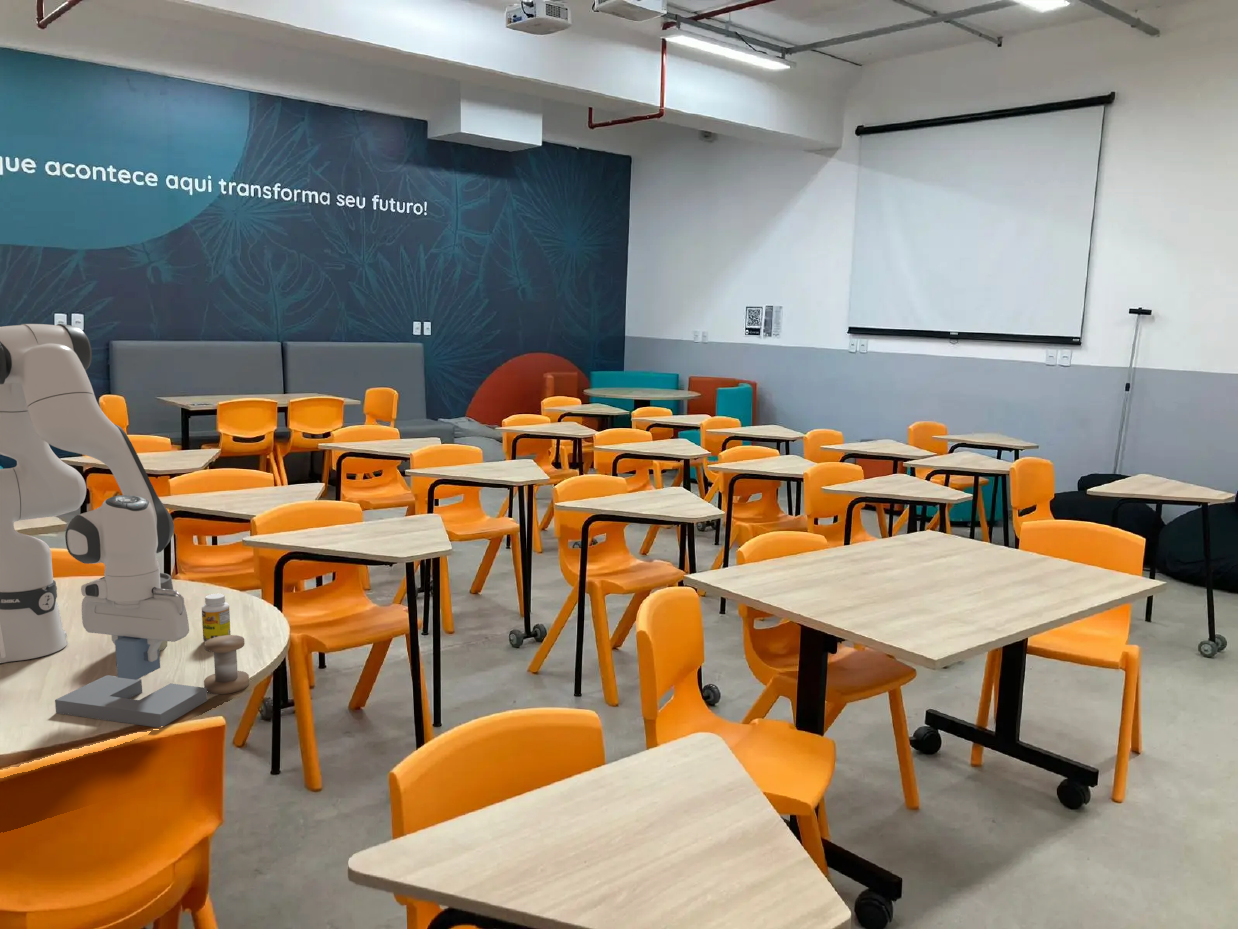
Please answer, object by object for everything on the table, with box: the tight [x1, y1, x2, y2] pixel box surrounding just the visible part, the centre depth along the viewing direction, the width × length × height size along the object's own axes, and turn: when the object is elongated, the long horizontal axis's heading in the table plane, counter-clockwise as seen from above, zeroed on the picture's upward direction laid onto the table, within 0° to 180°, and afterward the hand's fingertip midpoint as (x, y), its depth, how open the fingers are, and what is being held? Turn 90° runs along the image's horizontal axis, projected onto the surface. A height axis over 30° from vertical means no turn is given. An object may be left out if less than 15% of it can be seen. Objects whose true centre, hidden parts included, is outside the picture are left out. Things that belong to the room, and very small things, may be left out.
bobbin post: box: [203, 634, 250, 695], centre depth 177 cm, size 8×8×9 cm
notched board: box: [54, 674, 208, 728], centre depth 167 cm, size 22×12×2 cm, turn 76°
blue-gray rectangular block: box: [114, 636, 161, 680], centre depth 168 cm, size 4×6×7 cm, turn 166°
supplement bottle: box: [201, 593, 232, 643], centre depth 201 cm, size 6×6×10 cm
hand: (138, 659), depth 168 cm, fingers closed on blue-gray rectangular block, 4 cm apart
